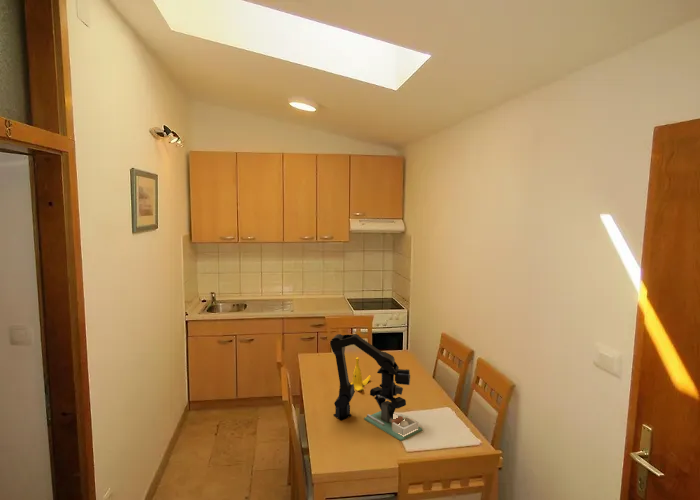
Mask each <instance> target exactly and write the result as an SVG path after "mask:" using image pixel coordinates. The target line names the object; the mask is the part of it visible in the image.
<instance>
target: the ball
mask: <svg viewBox="0 0 700 500" xmlns="http://www.w3.org/2000/svg"><path fill="white" fill-rule="evenodd" d="M408 425H409V424H408V422H407V421H401V422H400V426H401V427H403V428H404V427H406V426H408Z"/></svg>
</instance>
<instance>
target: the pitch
mask: <svg viewBox="0 0 700 500" xmlns="http://www.w3.org/2000/svg"><path fill="white" fill-rule="evenodd" d="M400 416H401V415H400ZM400 416H399V415H398V417H400ZM404 419H405V421H407V422H408V424H409V425H408V426H406V427H404V428H403V427H401V426H400V425H398V424H396V423H394V422H393V423H391V422H388V423H387V422H385V421H383V420H381V410H380V411H377V412H374V413H372V414H369V413H367V415H366V416H365V417H364V418H363V420H365V421H366V422H368V423H369V424H371V425H373V426H375V427H376V428H377V429H379V430H381V431H383V432H385V433H386V434H388V435H389V436H392V437H393V438H395V439H397V440H398V441H400V442H402V441H404V440H406V439H408V438H410V437H413V436H414V435H416V434H418V433H420V432H422V431H423V428H422V427H420V426H419V422H418V421H416V420H415V419H413V418H411V417H409V416H405V417H404V418H403V420H404ZM415 429H418V430H416V431H414V432H412V433H410V434H408V435H406V436H404V437H403V436H402V435H405V434H407V433H409V432H411V431H413V430H415ZM398 433H400V434H402V435H400V434H398Z"/></svg>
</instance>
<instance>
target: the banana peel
mask: <svg viewBox="0 0 700 500" xmlns="http://www.w3.org/2000/svg"><path fill="white" fill-rule="evenodd" d="M359 360H360V357H355V367H354V370H353V373H352V379H351V380H352V381H351V382H350V384H354V390H355V392H356V391H357V392H359V391H364V390H365V388H364V386H367V385H368V383H369V381H370V379H371V377H372V376H371V375H370V374H369V375H368V376H367V377H366V378H365V379H363V376H362V372H361V371H362V370H361V368H360V365H359V362H360V361H359Z"/></svg>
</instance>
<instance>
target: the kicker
mask: <svg viewBox="0 0 700 500" xmlns="http://www.w3.org/2000/svg"><path fill="white" fill-rule="evenodd" d="M388 404H391V401H390V400H385V402H383V403H381V409H380V411H381V420H383V421H385V422H387V423H388V422H391V423H393V422H394V423H396V424H399V423H400V422H401V421H403V419H404V417H403V415H402V416H401V415H400V417H398V418H396V419H393V416H392V417H390V414H389V409H388Z"/></svg>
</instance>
